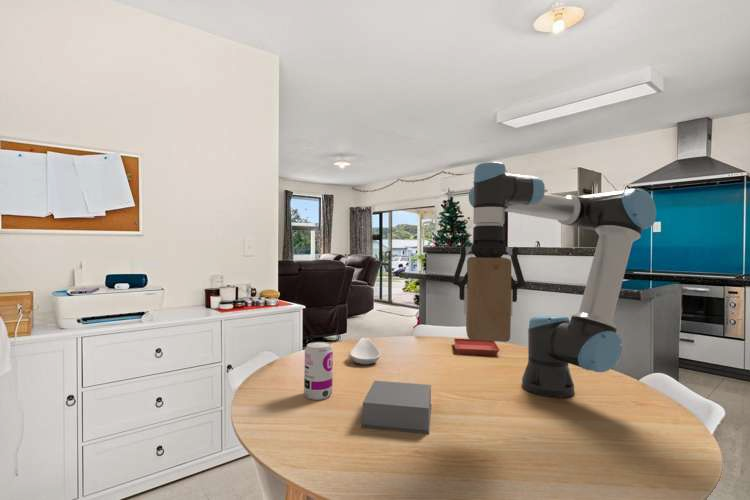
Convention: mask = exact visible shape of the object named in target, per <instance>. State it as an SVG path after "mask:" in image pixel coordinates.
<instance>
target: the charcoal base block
mask: <svg viewBox="0 0 750 500" xmlns="http://www.w3.org/2000/svg"><path fill="white" fill-rule="evenodd" d="M431 402H432V384H423V383H421V384H420V383H411V382H401V381H400V382H398V381H397V382H395V381H386V380H373V383H372V384H371V386H370V388H369V390H368V392H367V394H366V395H365V397H364V399H363V401H362V417H361V418H362V420H361V421H362V423H361V427H360V428H365V429H375V430H386V431H387V430H388V431H396V432H405V433H406V432H407V433H416V434H418V433H419V434H426V435H429V434H430V428H431V427H430V426H431V414H432V403H431Z"/></svg>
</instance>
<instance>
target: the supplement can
mask: <svg viewBox="0 0 750 500" xmlns="http://www.w3.org/2000/svg"><path fill="white" fill-rule="evenodd" d="M333 359H334V350H333V347H332V344H331V343H330V342H325V341H314V342H313V341H312V342H310V343H307V344H306V347H305V349H304V370H303V371H304V374H303V375H304V378H303V380H304V383H303V384H304V385H303V390H304V392H303V394H304V396H305V397H306V398H307V399H309V400H313V401H320V400H325V399H328V398H330V396H331V395H332V393H333V375H334V374H333V370H334V368H333V365H334V361H333Z"/></svg>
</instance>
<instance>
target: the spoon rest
mask: <svg viewBox="0 0 750 500" xmlns="http://www.w3.org/2000/svg"><path fill="white" fill-rule="evenodd" d="M381 354H382V353H381V352H380V350H379V349H378V347H377V346H376V345H375V343H374V342H373V341H372V340H371V339H370V337H360V339H359V341H357V343H355V345H354V346H353V347H352V349H351V350H350V352H349V356H350V359H352V361H354V362H355V363H357V364H358V363H359V365H364V366H365V365H367V366H368V365H371V364H372V365H373V364H374V363H376V362H377V361H378V360H379V359H380V357H381Z"/></svg>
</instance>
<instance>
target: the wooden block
mask: <svg viewBox="0 0 750 500" xmlns="http://www.w3.org/2000/svg"><path fill="white" fill-rule="evenodd" d="M467 271H468V282H467V283H466V287H467V288H468V291H467V314H465V315H466V316H465V318H466V319H465V320H466V321H465V322H466V323H465V329H466V335H467V336H466V337H467V339H471V340H484V341H495V342H502V343H503V342H505V343H507V342H509V341H510V340H511V320H512V319H511V318H512V316H511V276H512V261H511V258H508V257H503V256H502V257H501V258H485V257H483V258H482V257H476V256H470V257H467V260H466V272H467Z"/></svg>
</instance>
